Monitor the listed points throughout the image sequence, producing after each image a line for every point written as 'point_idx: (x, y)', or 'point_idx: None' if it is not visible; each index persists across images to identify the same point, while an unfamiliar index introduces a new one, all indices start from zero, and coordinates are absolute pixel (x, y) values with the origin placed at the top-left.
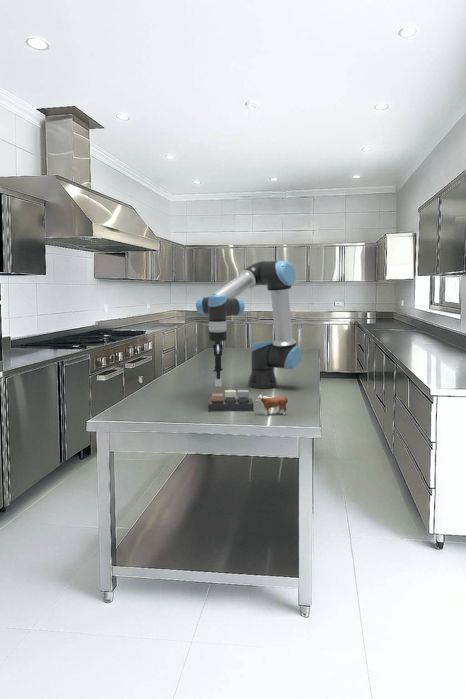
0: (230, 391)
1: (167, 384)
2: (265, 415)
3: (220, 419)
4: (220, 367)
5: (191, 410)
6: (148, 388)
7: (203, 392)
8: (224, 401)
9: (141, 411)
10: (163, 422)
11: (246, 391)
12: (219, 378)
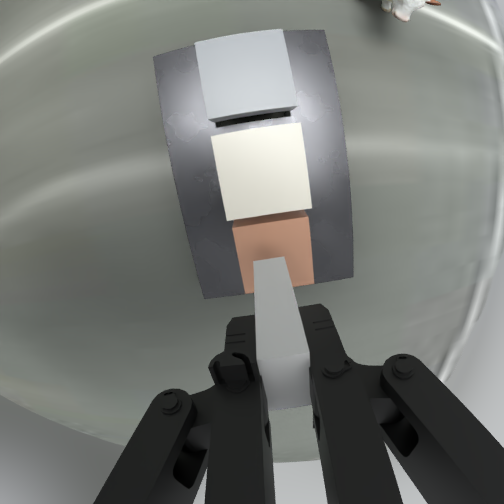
0: (282, 169)
1: (21, 391)
2: (390, 9)
3: (462, 194)
4: (437, 387)
5: None
6: (73, 426)
7: (27, 317)
8: None
9: None
10: (454, 350)
11: (263, 45)
12: (322, 310)
